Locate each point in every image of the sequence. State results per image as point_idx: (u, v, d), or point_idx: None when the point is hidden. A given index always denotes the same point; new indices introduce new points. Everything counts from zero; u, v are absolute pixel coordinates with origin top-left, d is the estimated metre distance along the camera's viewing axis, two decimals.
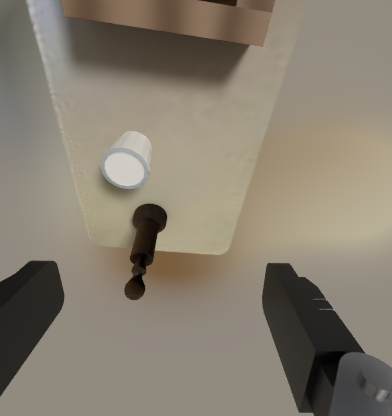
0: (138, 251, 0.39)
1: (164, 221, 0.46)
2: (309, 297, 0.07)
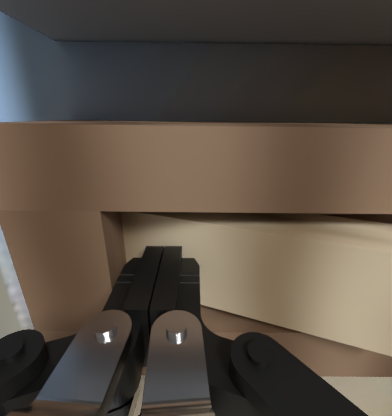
0: None
1: None
2: (176, 271, 0.08)
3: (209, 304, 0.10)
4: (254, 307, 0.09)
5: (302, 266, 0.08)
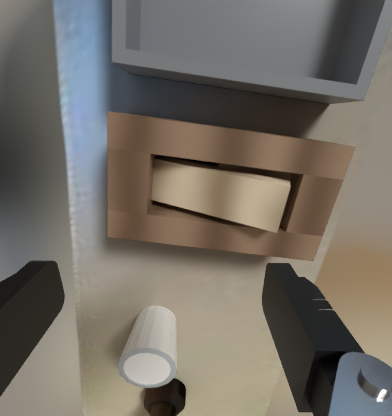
0: None
1: (183, 403, 0.37)
2: (309, 297, 0.07)
3: (190, 208, 0.22)
4: (209, 208, 0.21)
5: (230, 187, 0.20)
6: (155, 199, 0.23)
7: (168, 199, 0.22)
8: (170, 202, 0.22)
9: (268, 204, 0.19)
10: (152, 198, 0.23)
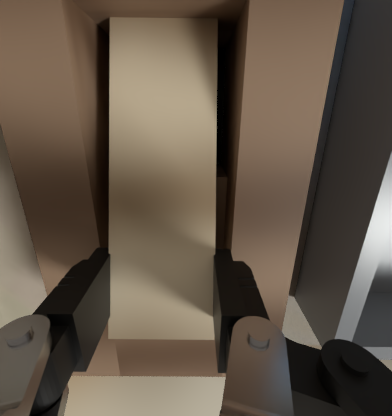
0: None
1: None
2: (234, 275, 0.08)
3: (113, 128, 0.09)
4: (125, 179, 0.09)
5: (186, 217, 0.09)
6: (113, 29, 0.09)
7: (123, 67, 0.09)
8: (116, 72, 0.09)
9: (169, 306, 0.09)
10: (113, 20, 0.09)
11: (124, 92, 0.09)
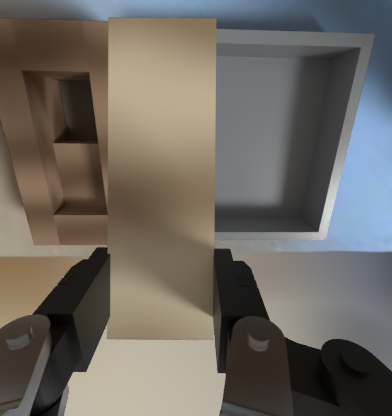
0: None
1: None
2: (234, 275, 0.08)
3: (111, 129, 0.09)
4: (123, 179, 0.09)
5: (185, 217, 0.09)
6: (111, 29, 0.09)
7: (122, 67, 0.09)
8: (115, 72, 0.09)
9: (168, 307, 0.09)
10: (112, 20, 0.09)
11: (123, 92, 0.09)
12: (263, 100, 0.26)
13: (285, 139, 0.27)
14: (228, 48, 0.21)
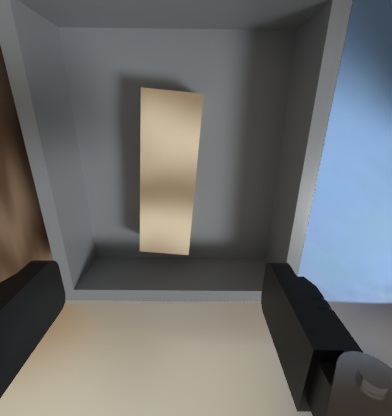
0: None
1: None
2: (307, 296, 0.07)
3: (142, 153, 0.16)
4: (148, 180, 0.17)
5: (179, 201, 0.17)
6: (142, 95, 0.15)
7: (148, 119, 0.15)
8: (144, 121, 0.15)
9: (168, 240, 0.19)
10: (143, 89, 0.15)
11: (148, 133, 0.16)
12: None
13: (234, 152, 0.19)
14: (113, 9, 0.13)
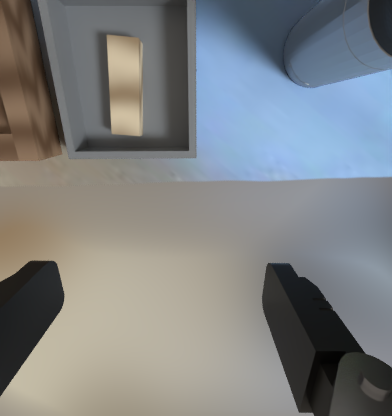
0: None
1: None
2: (309, 297, 0.07)
3: (109, 71, 0.31)
4: (113, 87, 0.32)
5: (131, 100, 0.32)
6: (107, 39, 0.30)
7: (111, 52, 0.30)
8: (109, 53, 0.30)
9: (127, 126, 0.33)
10: (107, 35, 0.30)
11: (112, 60, 0.30)
12: None
13: (163, 76, 0.33)
14: None
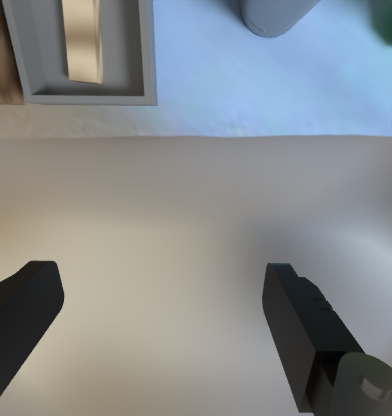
0: None
1: None
2: (309, 297, 0.07)
3: (64, 13, 0.31)
4: (69, 30, 0.32)
5: (87, 44, 0.33)
6: None
7: None
8: None
9: (84, 71, 0.34)
10: None
11: (66, 1, 0.31)
12: None
13: (121, 23, 0.34)
14: None
